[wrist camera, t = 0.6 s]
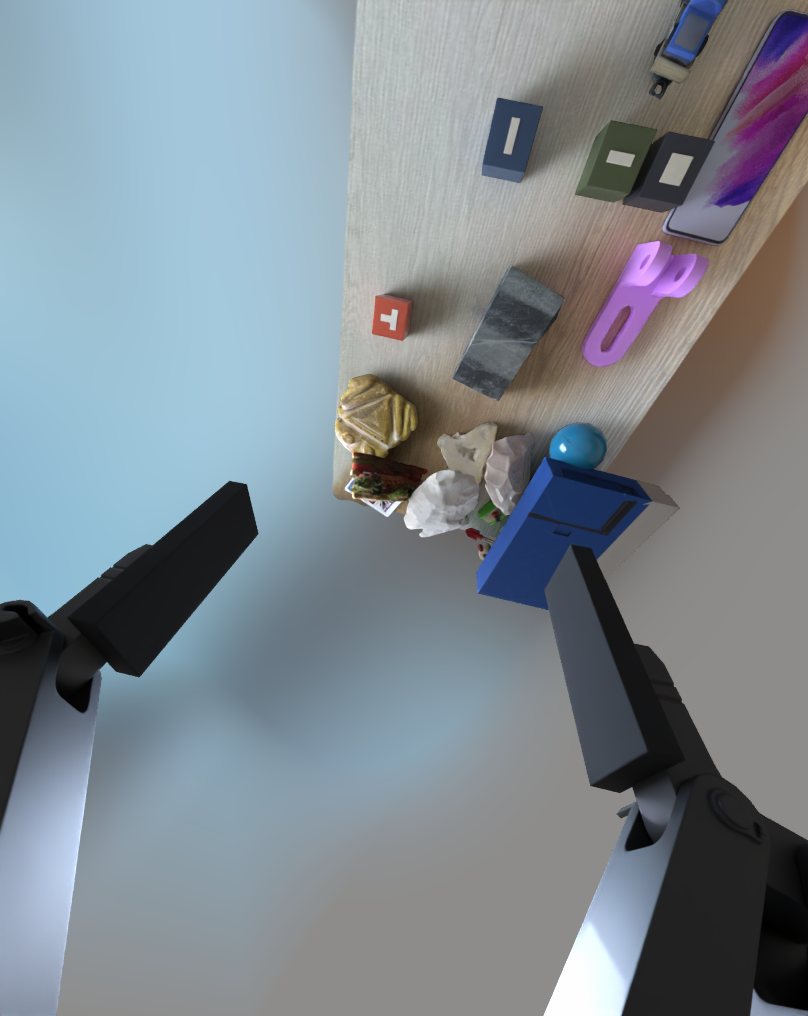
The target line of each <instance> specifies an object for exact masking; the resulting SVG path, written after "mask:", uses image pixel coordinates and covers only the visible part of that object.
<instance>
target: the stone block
mask: <svg viewBox="0 0 808 1016" xmlns="http://www.w3.org/2000/svg"><path fill="white" fill-rule="evenodd" d="M563 302H564V298H563V297H562V296H561V295H559V294H558V293H556V292H554V291H553V290H551V289H549V288H548V287H546V286H545V285H543V284H541V283H540V282H538V281H536V280H534V279H533V278H531V277H529V276H528V275H526V274H524V273H523V272H521V271H520V270H518V269H516V268H515V267H513V266H509V268H508V269H507V271H506V273H505V275H504V277H503V279H502V281H501V283H500V284H499V286H498V288H497V290H496V292H495V294H494V296H493V298H492V300H491V302H490V304H489V306H488V308H487V310H486V311H485V313H484V315H483V317H482V319H481V321H480V323H479V325H478V327H477V329H476V331H475V333H474V335H473V337H472V339H471V341H470V342H469V344H468V346H467V348H466V350H465V352H464V354H463V356H462V358H461V360H460V362H459V364H458V366H457V367H456V369H455V371H454V375H453V379H454V380H456V381H458V382H460V383H462V384H464V385H466V386H468V387H470V388H472V389H474V390H476V391H478V392H480V393H482V394H484V395H486V396H489V397H491V398H493V399H494V400H496V401H499V400H500V398H501V397H502V395H503V394H504V392H505V390H506V389H507V387H508V385H509V384H510V382H511V381H512V379H513V378H514V376H515V375H516V373H517V371H518V370H519V368H520V367H521V365H522V364H523V362H524V361H525V359H526V358H527V356H528V355H529V353H530V351H531V350H532V348H533V347H534V345H535V344H536V342H538V341H539V340H540V339H541V338H542V337H543V336H544V334H545V333H546V332H547V331H548V329H549V328H550V326H551V325H552V324H553V323H554V321H555V320H556V319H557V316H558V313H559V311H560V309H561V306H562V304H563Z"/></svg>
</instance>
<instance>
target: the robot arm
mask: <svg viewBox="0 0 808 1016" xmlns="http://www.w3.org/2000/svg"><path fill="white" fill-rule="evenodd" d="M257 535H258V530H257V526H256V521H255V517H254V513H253V509H252V504H251V500H250V496H249V492H248V487H247V485H246V484H243V483H238V482H232V481H229V482H228V483H226V484H225V485H224V486H223V487H222V488H221V489H219V490H218V491H217V492H216V493H214V494H213V495H212V496H211V497H210V498H209V499H207V500H206V501H205V502H204V503H203V504H201V505H200V506H199V507H198V508H197V509H196V510H194V511H193V512H192V513H191V514H190V515H188V516H187V517H186V518H185V519H184V520H183V521H181V522H180V523H179V524H178V525H176V526H175V527H174V528H173V529H172V530H170V531H169V532H168V533H167V534H166V535H165V536H164V537H162V538H161V539H160V540H159V541H157V542H156V543H155V544H154V545H148V544H146V545H144V546H142V547H140V548H138V549H136V550H134V551H132V552H130V553H128V554H127V555H126V556H124V557H123V558H122V559H121V560H119V561H118V562H117V563H115V564H114V565H113V567H112V568H109V569H108V570H107V571H106V572H104V573H103V574H102V575H101V577H100V578H97V579H96V580H94V581H93V582H92V583H91V584H89V585H88V586H87V587H86V588H84V589H83V590H82V591H81V592H79V593H78V594H77V595H76V596H74V597H73V598H72V599H71V600H69V601H68V602H67V603H66V604H64V605H63V606H62V607H61V608H60V609H58V610H57V611H56V612H54V613H53V614H52V615H50V616H49V617H48V618H47V617H46V616H45V615H44V614H43V613H42V612H41V611H40V610H39V609H38V608H37V607H36V606H35V605H34V604H33V603H31V602H30V601H24V600H16V601H10V602H5V603H2V604H0V1016H56V1013H57V1006H58V998H59V990H60V983H61V976H62V969H63V961H64V953H65V946H66V939H67V931H68V924H69V916H70V909H71V902H72V894H73V887H74V880H75V872H76V865H77V858H78V850H79V843H80V835H81V828H82V820H83V813H84V806H85V798H86V791H87V783H88V776H89V768H90V761H91V754H92V746H93V738H94V732H95V724H96V716H97V709H98V702H99V694H100V687H101V680H102V678H101V672H100V671H99V670H100V669H101V667H103V665H104V664H105V663H106V662H108V663H109V665H110V666H111V667H112V668H113V669H114V670H115V671H116V672H119V673H124V674H128V675H132V676H136V677H140V676H141V675H142V674H143V672H144V671H145V670H146V669H147V668H148V666H149V665H150V664H151V663H152V662H153V660H154V659H155V658H156V657H157V656H158V654H159V653H160V652H161V651H162V650H163V648H164V647H165V646H166V645H167V643H168V642H169V641H170V640H171V639H172V637H173V636H174V635H175V634H176V633H177V632H178V630H179V629H180V628H181V627H182V625H183V624H184V623H185V622H186V620H187V619H188V618H189V617H190V616H191V614H192V613H193V612H194V611H195V610H196V609H197V607H198V606H199V605H200V604H201V603H202V601H203V600H204V599H205V598H206V597H207V595H208V594H209V593H210V592H211V591H212V589H213V588H214V587H215V586H216V584H217V583H218V582H219V581H220V580H221V578H222V577H223V576H224V575H225V574H226V572H227V571H228V570H229V569H230V568H231V566H232V565H233V564H234V563H235V562H236V560H237V559H238V558H239V557H240V556H241V554H242V553H243V552H244V551H245V550H246V548H247V547H248V546H249V545H250V544H251V542H252V541H253V540H254V539H255V537H256V536H257ZM544 591H545V595H546V600H547V604H548V608H549V612H550V616H551V621H552V625H553V629H554V633H555V638H556V642H557V646H558V651H559V654H560V659H561V663H562V668H563V672H564V676H565V680H566V684H567V689H568V693H569V697H570V702H571V705H572V710H573V714H574V719H575V723H576V727H577V731H578V736H579V740H580V744H581V748H582V752H583V756H584V761H585V765H586V769H587V774H588V778H589V782H590V786H593V787H597V788H601V789H606V790H610V791H614V792H618V793H621V792H623V791H625V790H627V789H629V788H631V787H633V790H634V793H635V797H636V800H637V802H635V803H632V804H630V805H628V806H625V807H623V808H621V809H620V810H619V812H618V813H617V815H618V816H619V817H620V818H623V817H625V816H628V817H627V819H626V822H625V824H624V827H623V829H622V831H621V834H620V836H619V839H618V841H617V843H616V846H615V848H614V850H613V853H612V855H611V857H610V860H609V862H608V865H607V867H606V869H605V872H604V874H603V876H602V879H601V881H600V884H599V886H598V888H597V891H596V893H595V896H594V898H593V900H592V903H591V905H590V908H589V910H588V912H587V914H586V917H585V920H584V922H583V924H582V926H581V929H580V931H579V934H578V936H577V938H576V941H575V943H574V946H573V948H572V950H571V953H570V955H569V957H568V960H567V962H566V964H565V967H564V969H563V971H562V974H561V976H560V979H559V981H558V983H557V986H556V988H555V990H554V993H553V996H552V998H551V1000H550V1003H549V1005H548V1007H547V1009H546V1012H545V1014H544V1016H808V840H806V839H804V838H803V837H801V836H799V835H797V834H795V833H794V832H792V831H790V830H788V829H787V828H785V827H783V826H781V825H779V824H778V823H776V822H774V821H772V820H771V819H768V818H767V817H765V816H763V815H762V814H760V813H759V812H758V811H757V809H756V808H755V807H754V805H753V804H752V803H751V801H750V800H749V799H748V798H747V797H746V796H745V795H744V794H743V793H742V792H741V791H740V790H739V789H738V788H737V787H736V786H734V785H733V784H731V783H730V782H728V781H727V780H725V779H724V778H722V776H721V775H720V773H719V771H718V770H717V768H716V766H715V765H714V763H713V761H712V759H711V757H710V755H709V753H708V751H707V749H706V747H705V745H704V743H703V741H702V739H701V737H700V735H699V733H698V731H697V729H696V727H695V725H694V723H693V721H692V719H691V717H690V715H689V713H688V711H687V709H686V707H685V705H684V704H683V703H682V702H681V701H682V699H681V697H680V695H679V693H678V691H677V689H676V687H674V683H673V681H672V679H671V677H670V675H669V673H668V671H667V669H666V667H665V665H664V663H663V662H662V661H661V660H660V659H659V658H658V657H657V655H656V654H655V653H654V652H653V651H652V649H651V648H650V647H648V646H643V645H639V644H634V643H633V641H632V638H631V636H630V634H629V632H628V630H627V627H626V625H625V623H624V620H623V618H622V616H621V614H620V611H619V609H618V607H617V605H616V602H615V600H614V598H613V596H612V593H611V591H610V589H609V587H608V585H607V582H606V580H605V578H604V575H603V573H602V571H601V569H600V567H599V564H598V562H597V560H596V558H595V555H594V553H593V551H592V549H591V548H589V547H584V546H578V545H573V544H570V546H569V548H568V550H567V551H566V553H565V555H564V557H563V558H562V560H561V562H560V564H559V565H558V567H557V569H556V571H555V572H554V574H553V576H552V578H551V579H550V581H549V583H548V585H547V586H546V588H545V590H544Z"/></svg>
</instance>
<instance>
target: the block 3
mask: <svg viewBox="0 0 808 1016" xmlns="http://www.w3.org/2000/svg"><path fill="white" fill-rule="evenodd" d="M714 143H715V141H713V140H708V139H703V138H698V137H693V136H688V135H683V134H678V133H673V132H667V133H666V134H664V135H663V136H662V137H660V138H659V139H658V140H656V141H655V142H654V143H652V144H651V145H650V148H649V150H648V152H647V154H646V157H645V159H644V161H643V164H642V166H641V168H640V171H639V173H638V175H637V177H636V180H635V182H634V184H633V187H632V189H631V191H630V194H629V195H627V196H626V198H625V200H624V202H623V205H628V206H633V207H638V208H642V209H647V210H652V211H657V212H664V211H667V210H670V209H673V208H676V207H679V206H682V205H683V203H684V201H685V199H686V197H687V195H688V193H689V191H690V189H691V188H692V186H693V184H694V182H695V180H696V178H697V176H698V174H699V172H700V170H701V168H702V166H703V164H704V162H705V160H706V159H707V157H708V155H709V153H710V151H711V149H712V147H713V145H714Z"/></svg>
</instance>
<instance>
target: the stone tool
mask: <svg viewBox="0 0 808 1016" xmlns="http://www.w3.org/2000/svg"><path fill="white" fill-rule="evenodd" d="M534 436H535V435H534V434H533V433H532V432H529V433H526V434H525V435H516V436H514V435H511V436H509V437H505V438H503V439H501V440H497V441H495V442H494V443H493V444H492V452H491V455H490V457H489V458H488V459H487V462H486V464H487V468H486V469H487V470H486V472H485V475H484V478H485V480H486V484H485V488H486V490H487V492H488V493H489V496H490V498H491V500H492V502H493V504H494V505H495V506H496V507H497V508H500V509H501V511H502V512H503V514H505V515H511V513H512V512H513V510H514V508H515V507H516V505H517V503H518V501H519V500H520V498H521V496H522V495H523V493H524V491H525V490H526V488H527V486H528V485H529V483H530V472H531V468H530V460H531V456H532V449H533V446H534V445H535V437H534Z"/></svg>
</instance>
